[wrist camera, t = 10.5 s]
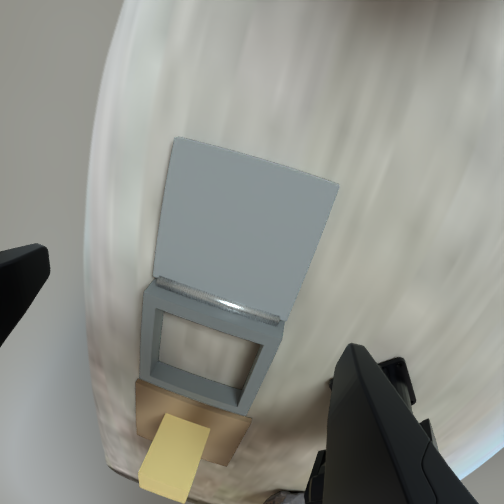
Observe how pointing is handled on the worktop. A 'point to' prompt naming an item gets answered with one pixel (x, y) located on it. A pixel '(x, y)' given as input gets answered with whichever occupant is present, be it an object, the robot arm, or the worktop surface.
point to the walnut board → (190, 420)
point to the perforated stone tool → (286, 498)
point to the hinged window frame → (230, 258)
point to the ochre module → (173, 458)
